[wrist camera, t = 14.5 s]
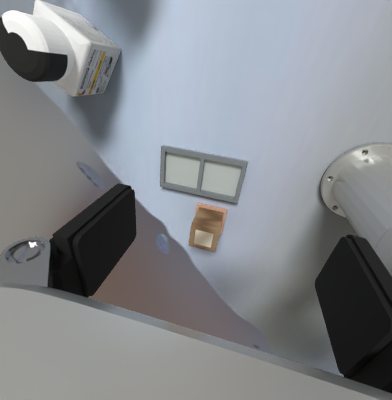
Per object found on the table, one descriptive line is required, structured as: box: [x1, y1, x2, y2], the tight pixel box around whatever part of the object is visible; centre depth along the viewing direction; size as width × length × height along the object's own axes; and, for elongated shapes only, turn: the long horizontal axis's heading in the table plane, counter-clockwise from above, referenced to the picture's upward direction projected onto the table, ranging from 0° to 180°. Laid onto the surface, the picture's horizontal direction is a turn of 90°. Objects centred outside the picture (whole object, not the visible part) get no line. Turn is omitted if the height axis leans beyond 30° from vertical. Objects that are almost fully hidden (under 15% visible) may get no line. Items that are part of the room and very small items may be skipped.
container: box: [0, 0, 121, 97], centre depth 29 cm, size 8×8×13 cm
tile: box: [196, 203, 227, 235], centre depth 44 cm, size 6×6×1 cm
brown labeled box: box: [189, 207, 224, 252], centre depth 41 cm, size 5×5×6 cm
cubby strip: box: [160, 145, 248, 203], centre depth 39 cm, size 15×8×1 cm, turn 83°
